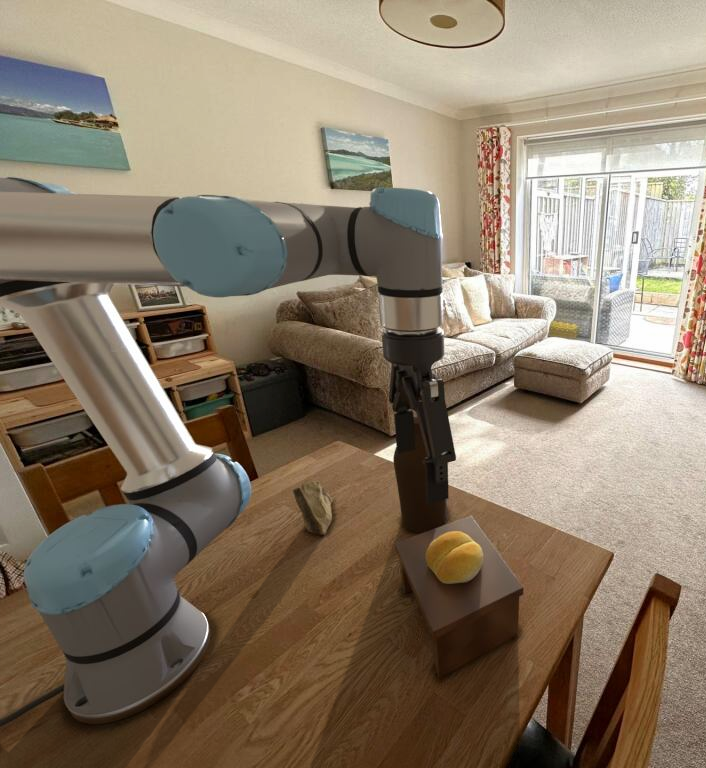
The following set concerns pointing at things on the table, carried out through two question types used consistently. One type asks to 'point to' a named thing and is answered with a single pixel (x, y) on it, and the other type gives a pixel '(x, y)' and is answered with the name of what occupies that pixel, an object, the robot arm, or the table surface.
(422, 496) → the olive oil
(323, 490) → the rock
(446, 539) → the bread roll
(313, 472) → the table surface
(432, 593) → the block
